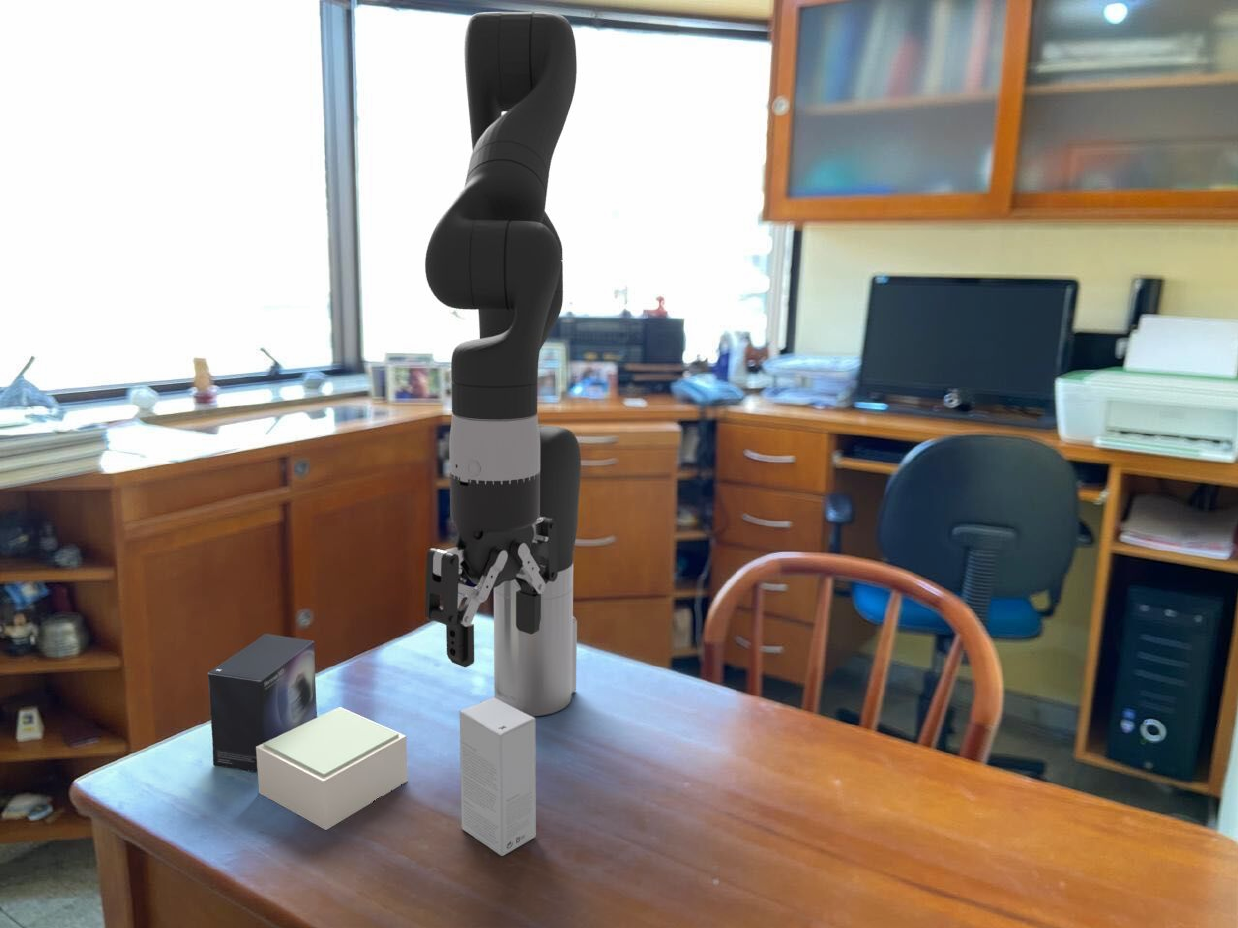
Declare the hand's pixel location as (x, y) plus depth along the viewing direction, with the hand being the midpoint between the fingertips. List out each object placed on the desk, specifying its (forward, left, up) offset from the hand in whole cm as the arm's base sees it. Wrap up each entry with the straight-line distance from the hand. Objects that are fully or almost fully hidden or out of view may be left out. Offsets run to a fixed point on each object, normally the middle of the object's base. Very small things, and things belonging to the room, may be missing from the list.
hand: (495, 646), depth 80 cm
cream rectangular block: (+4, -18, -18) cm, 26 cm away
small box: (+3, -30, -19) cm, 35 cm away
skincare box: (0, 0, -19) cm, 19 cm away
